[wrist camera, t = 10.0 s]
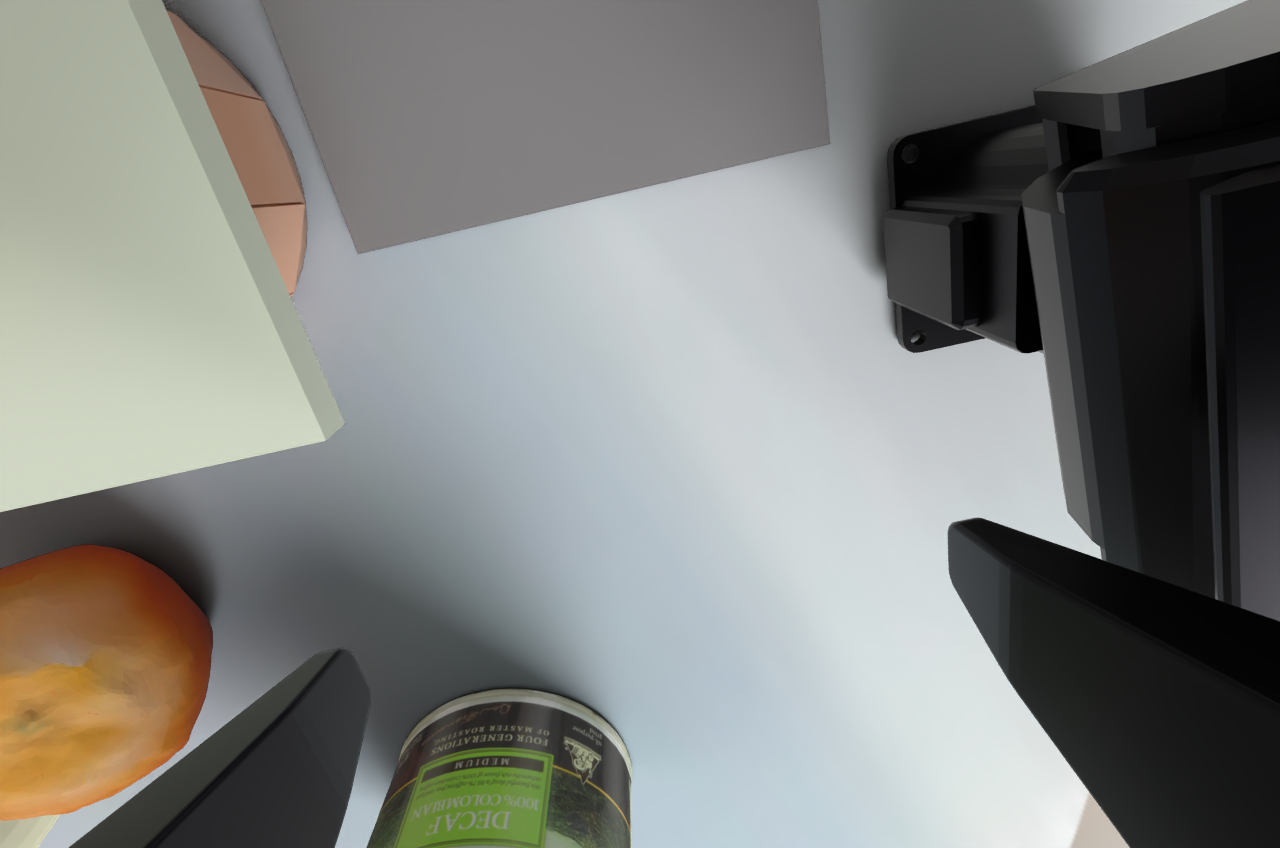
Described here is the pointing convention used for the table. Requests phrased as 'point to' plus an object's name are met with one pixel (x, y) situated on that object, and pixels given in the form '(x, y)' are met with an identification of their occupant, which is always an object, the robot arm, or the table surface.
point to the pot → (253, 151)
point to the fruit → (93, 676)
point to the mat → (541, 100)
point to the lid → (131, 267)
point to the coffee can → (509, 777)
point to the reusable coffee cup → (25, 831)
